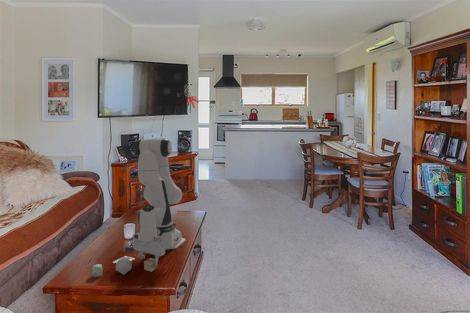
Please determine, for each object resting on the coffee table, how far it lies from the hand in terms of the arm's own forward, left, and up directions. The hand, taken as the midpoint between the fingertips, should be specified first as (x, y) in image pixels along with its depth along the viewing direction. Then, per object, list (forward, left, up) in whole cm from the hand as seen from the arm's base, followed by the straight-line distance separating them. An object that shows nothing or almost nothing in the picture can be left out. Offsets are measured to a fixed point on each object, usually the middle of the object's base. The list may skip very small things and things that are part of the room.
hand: (149, 260), depth 210 cm
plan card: (-2, -21, -5) cm, 22 cm away
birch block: (-1, 0, -5) cm, 5 cm away
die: (+9, -10, -6) cm, 14 cm away
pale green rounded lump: (+18, -20, -5) cm, 27 cm away
